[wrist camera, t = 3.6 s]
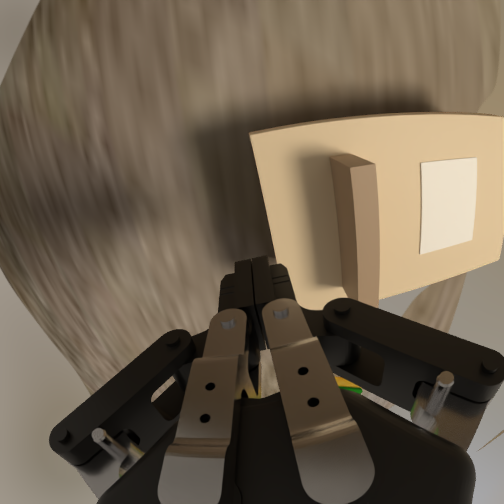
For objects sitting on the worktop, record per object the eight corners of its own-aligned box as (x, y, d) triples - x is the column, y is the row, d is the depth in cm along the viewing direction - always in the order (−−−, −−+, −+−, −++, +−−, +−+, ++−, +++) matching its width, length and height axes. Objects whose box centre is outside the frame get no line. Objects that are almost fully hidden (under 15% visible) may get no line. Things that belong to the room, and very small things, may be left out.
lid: (248, 132, 15) (252, 139, 11) (487, 113, 14) (538, 124, 9) (283, 300, 21) (295, 355, 16) (482, 247, 19) (520, 277, 15)
